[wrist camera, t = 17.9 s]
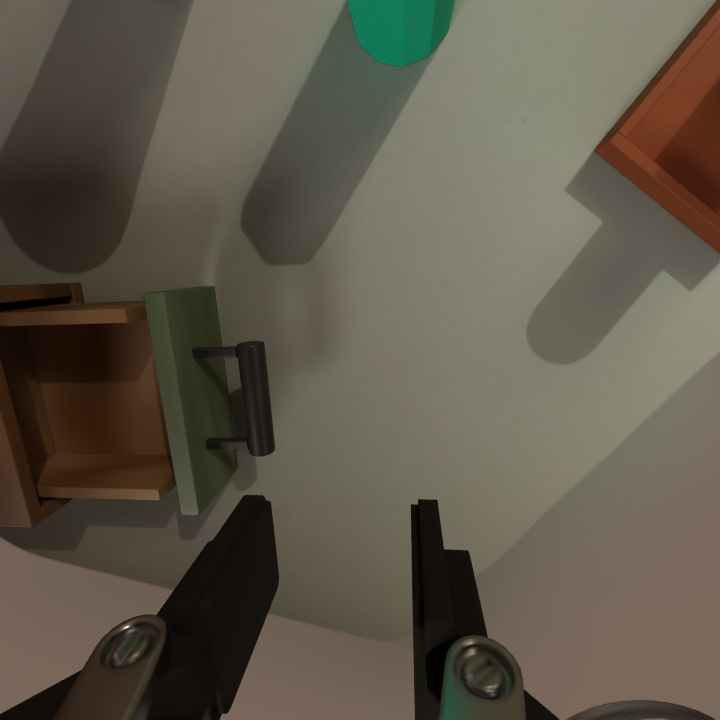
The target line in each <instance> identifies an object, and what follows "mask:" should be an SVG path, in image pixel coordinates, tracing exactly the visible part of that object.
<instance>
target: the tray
mask: <svg viewBox="0 0 720 720" xmlns="http://www.w3.org/2000/svg"><path fill="white" fill-rule="evenodd" d="M594 151H595V152H596V153H597V154H598V155H600V156H601V157H602V158H603V159H605V160H606V161H607V162H608V163H610V164H611V165H612V166H613V167H614V168H616V169H617V170H618V171H619V172H621V173H622V174H623V175H624V176H625V177H627V178H628V179H629V180H630V181H632V182H633V183H634V184H635V185H637V186H638V187H639V188H640V189H641V190H643V191H644V192H645V193H646V194H648V195H649V196H650V197H651V198H652V199H654V200H655V201H656V202H657V203H659V204H660V205H661V206H662V207H664V208H665V209H666V210H667V211H668V212H670V213H671V214H672V215H673V216H675V217H676V218H677V219H678V220H680V221H681V222H682V223H683V224H684V225H686V226H687V227H688V228H689V229H691V230H692V231H693V232H694V233H695V234H697V235H698V236H699V237H700V238H702V239H703V240H704V241H705V242H707V243H708V244H709V245H710V246H711V247H713V248H714V249H715V250H716V251H718V252H719V253H720V0H717V1H716V2H715V3H714V5H713V6H712V7H711V8H710V9H709V11H708V12H707V13H706V14H705V16H704V17H703V18H702V19H701V20H700V22H699V23H698V24H697V25H696V27H695V28H694V29H693V30H692V31H691V33H690V34H689V35H688V36H687V38H686V39H685V40H684V41H683V42H682V44H681V45H680V46H679V47H678V49H677V50H676V51H675V52H674V53H673V55H672V56H671V57H670V58H669V59H668V61H667V62H666V63H665V64H664V66H663V67H662V68H661V69H660V70H659V72H658V73H657V74H656V75H655V77H654V78H653V79H652V80H651V81H650V83H649V84H648V85H647V86H646V88H645V89H644V90H643V91H642V92H641V94H640V95H639V96H638V97H637V99H636V100H635V101H634V102H633V103H632V105H631V106H630V107H629V108H628V110H627V111H626V112H625V113H624V114H623V116H622V117H621V118H620V119H619V121H618V122H617V123H616V124H615V125H614V127H613V128H612V129H611V130H610V131H609V133H608V134H607V135H606V136H605V138H604V139H603V140H602V141H601V142H600V144H599V145H598V146H597V147H596V149H595V150H594Z"/></svg>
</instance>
